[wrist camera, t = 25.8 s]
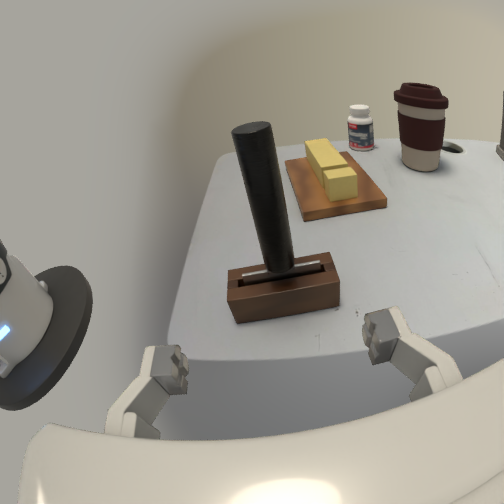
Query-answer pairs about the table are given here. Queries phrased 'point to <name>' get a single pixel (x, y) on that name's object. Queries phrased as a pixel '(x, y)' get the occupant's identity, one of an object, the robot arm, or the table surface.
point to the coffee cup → (421, 124)
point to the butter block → (323, 157)
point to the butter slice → (340, 184)
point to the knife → (267, 204)
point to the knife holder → (283, 292)
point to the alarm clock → (503, 148)
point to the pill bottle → (360, 128)
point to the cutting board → (314, 195)
